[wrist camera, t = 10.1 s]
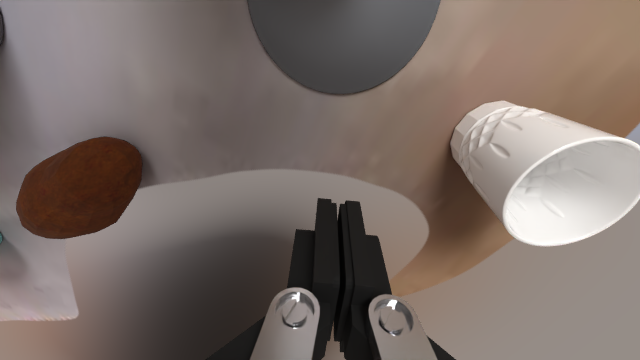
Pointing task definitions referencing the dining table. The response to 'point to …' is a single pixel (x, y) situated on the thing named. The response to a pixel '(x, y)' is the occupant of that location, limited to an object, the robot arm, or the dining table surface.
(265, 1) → the disc
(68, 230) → the potato
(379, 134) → the dining table surface
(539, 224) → the white cup
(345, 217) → the robot arm
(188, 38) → the dining table surface
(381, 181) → the dining table surface
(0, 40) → the canister
